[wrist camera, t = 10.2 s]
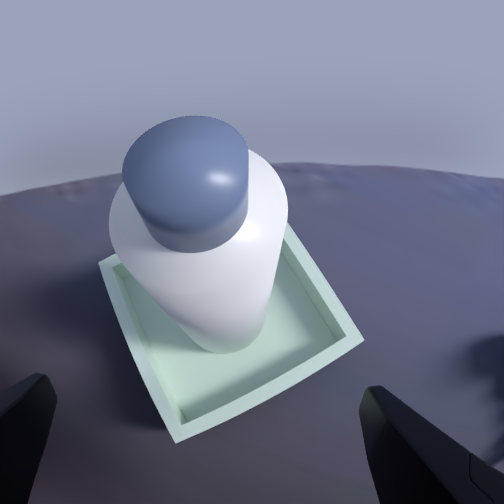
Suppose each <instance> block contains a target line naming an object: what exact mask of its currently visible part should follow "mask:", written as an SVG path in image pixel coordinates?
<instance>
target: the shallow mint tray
mask: <svg viewBox="0 0 504 504" xmlns="http://www.w3.org/2000/svg"><path fill="white" fill-rule="evenodd" d="M98 263H99V267H100V270H101V273H102V276H103V279H104V282H105V285H106V288H107V291H108V294H109V297H110V299H111V302H112V305H113V308H114V311H115V313H116V316H117V319H118V321H119V324H120V326H121V329H122V331H123V334H124V337H125V339H126V341H127V344H128V346H129V349H130V351H131V353H132V356H133V358H134V360H135V363H136V365H137V367H138V370H139V372H140V374H141V376H142V378H143V381H144V383H145V385H146V387H147V389H148V391H149V393H150V395H151V397H152V399H153V401H154V403H155V405H156V407H157V409H158V411H159V413H160V415H161V417H162V419H163V421H164V423H165V425H166V427H167V429H168V431H169V432H170V434H171V436H172V438H173V440H174V441H175V443H178V442H180V441H182V440H185V439H187V438H189V437H192V436H194V435H196V434H199V433H201V432H203V431H205V430H207V429H210V428H212V427H214V426H216V425H218V424H220V423H222V422H225V421H227V420H229V419H231V418H233V417H235V416H237V415H239V414H241V413H243V412H245V411H247V410H249V409H251V408H253V407H254V406H256V405H258V404H260V403H262V402H264V401H266V400H268V399H270V398H271V397H273V396H275V395H277V394H279V393H280V392H282V391H284V390H286V389H288V388H289V387H291V386H293V385H294V384H296V383H298V382H300V381H301V380H303V379H305V378H306V377H308V376H310V375H311V374H313V373H315V372H316V371H318V370H320V369H321V368H323V367H324V366H326V365H328V364H329V363H331V362H332V361H334V360H335V359H337V358H339V357H340V356H342V355H343V354H345V353H346V352H348V351H349V350H351V349H352V348H354V347H355V346H357V345H358V344H360V343H361V342H363V341H364V339H363V337H362V336H361V334H360V332H359V331H358V329H357V328H356V326H355V324H354V323H353V321H352V320H351V318H350V316H349V315H348V313H347V312H346V310H345V309H344V307H343V305H342V304H341V302H340V301H339V299H338V298H337V296H336V295H335V293H334V291H333V290H332V288H331V287H330V285H329V284H328V282H327V281H326V279H325V278H324V276H323V275H322V273H321V272H320V270H319V269H318V267H317V266H316V264H315V263H314V261H313V260H312V258H311V257H310V255H309V254H308V252H307V251H306V249H305V248H304V246H303V245H302V243H301V242H300V240H299V239H298V237H297V236H296V234H295V233H294V231H293V230H292V228H291V227H290V226H289V224H288V223H286V227H285V232H284V237H283V241H282V246H281V251H280V255H279V260H278V264H277V269H276V273H275V278H274V282H273V287H272V291H271V296H270V300H269V304H268V309H267V313H266V317H265V322H264V325H263V328H262V330H261V332H260V334H259V336H258V337H257V338H256V339H255V341H254V342H253V343H251V344H250V345H249V346H248V347H246V348H244V349H242V350H240V351H237V352H234V353H228V354H219V353H214V352H210V351H207V350H205V349H203V348H202V347H200V346H199V345H197V344H196V343H195V342H194V341H193V340H192V339H191V338H190V337H189V336H188V335H187V334H186V333H185V332H184V331H183V330H182V329H181V328H180V327H179V326H178V325H177V324H176V323H175V321H174V320H173V319H172V318H171V317H170V316H169V315H168V314H167V313H166V312H165V311H164V310H163V309H162V308H161V307H160V306H159V304H158V303H157V302H156V301H155V300H154V299H153V298H152V297H151V296H150V295H149V293H148V292H147V291H146V290H145V289H144V288H143V287H142V286H141V285H140V283H139V282H138V281H137V280H136V279H135V278H134V277H133V275H132V274H131V273H130V272H129V271H128V270H127V268H126V267H125V266H124V265H123V264H122V262H121V261H120V259H119V258H118V256H117V254H114V255H112V256H110V257H108V258H106V259H104V260H102V261H100V262H98Z"/></svg>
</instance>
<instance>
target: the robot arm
mask: <svg viewBox="0 0 504 504" xmlns="http://www.w3.org/2000/svg"><path fill="white" fill-rule="evenodd" d="M56 404H57V394H56V392H55V390H54V388H53V385H52V383H51V381H50V379H49V377H48V376H47V375H44V374H40V373H35V374H33V375H31V376H29V377H27V378H26V379H24V380H22V381H20V382H19V383H17V384H15V385H13V386H12V387H10V388H8V389H6V390H5V391H3V392H1V393H0V504H27V503H28V500H29V496H30V493H31V489H32V486H33V483H34V479H35V476H36V473H37V470H38V467H39V463H40V460H41V457H42V455H43V452H44V449H45V446H46V443H47V439H48V435H49V431H50V427H51V423H52V419H53V416H54V412H55V408H56ZM359 415H360V421H361V426H362V432H363V437H364V443H365V449H366V455H367V460H368V464H369V467H370V471H371V474H372V478H373V481H374V484H375V488H376V491H377V495H378V498H379V502H380V504H504V474H503V473H502V472H500V471H498V470H497V469H495V468H493V467H492V466H490V465H489V464H487V463H486V462H484V461H483V460H481V459H480V458H478V457H477V456H476V455H474V454H473V453H470V451H468V450H467V449H466V448H464V447H463V446H462V445H460V444H459V443H457V442H456V441H455V440H453V439H452V438H451V437H449V436H448V435H447V434H445V433H444V432H442V431H441V430H440V429H438V428H437V427H436V426H434V425H433V424H432V423H430V422H429V421H428V420H426V419H425V418H424V417H422V416H421V415H420V414H418V413H417V412H416V411H414V410H413V409H412V408H410V407H409V406H408V405H406V404H405V403H404V402H402V401H401V400H400V399H398V398H397V397H396V396H394V395H393V394H392V393H390V392H389V391H388V390H386V389H385V388H384V387H382V386H379V385H378V386H371V387H367V388H366V389H365V392H364V395H363V398H362V401H361V405H360V408H359Z"/></svg>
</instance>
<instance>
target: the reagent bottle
mask: <svg viewBox="0 0 504 504" xmlns="http://www.w3.org/2000/svg"><path fill="white" fill-rule="evenodd" d="M122 177H123V182H122V184H121V185H120V187H119V189H118V190H117V192H116V194H115V197H114V199H113V202H112V205H111V210H110V216H109V233H110V238H111V242H112V245H113V248H114V250H115V253H116V254H117V256H118V258H119V259H120V261H121V262H122V264H123V265H124V266H125V267H126V268H127V270H128V271H129V272H130V273H131V274H132V275H133V277H134V278H135V279H136V280H137V281H138V282H139V283H140V285H141V286H142V287H143V288H144V289H145V290H146V291H147V292H148V293H149V295H150V296H151V297H152V298H153V299H154V300H155V301H156V302H157V303H158V304H159V306H160V307H161V308H162V309H163V310H164V311H165V312H166V313H167V314H168V315H169V316H170V317H171V318H172V319H173V320H174V321H175V323H176V324H177V325H178V326H179V327H180V328H181V329H182V330H183V331H184V332H185V333H186V334H187V335H188V336H189V337H190V338H191V339H192V340H193V341H194V342H195V343H196V344H197V345H199V346H200V347H202V348H203V349H205V350H207V351H210V352H214V353H219V354H228V353H234V352H237V351H240V350H242V349H244V348H246V347H248V346H249V345H250V344H251V343H253V342H254V341H255V339H256V338H257V337H258V336H259V334H260V332H261V330H262V328H263V325H264V322H265V317H266V313H267V309H268V304H269V300H270V296H271V291H272V287H273V282H274V278H275V273H276V269H277V264H278V260H279V255H280V251H281V246H282V241H283V237H284V232H285V227H286V223H287V216H288V204H287V196H286V193H285V189H284V186H283V184H282V182H281V180H280V178H279V176H278V175H277V173H276V172H275V170H274V169H273V168H272V167H271V166H270V165H269V164H268V163H267V162H266V161H265V160H264V159H263V158H262V157H260V156H259V155H257V154H256V153H254V152H253V151H251V150H249V149H248V147H247V144H246V142H245V140H244V138H243V137H242V135H241V134H240V133H239V132H238V131H237V130H236V129H235V128H234V127H232V126H231V125H229V124H228V123H226V122H224V121H221V120H218V119H216V118H211V117H206V116H185V117H179V118H175V119H171V120H168V121H165V122H163V123H160V124H158V125H156V126H154V127H153V128H151V129H149V130H148V131H147V132H145V133H144V134H143V135H141V136H140V137H139V138H138V139H137V140H136V141H135V142H134V144H133V145H132V146H131V148H130V149H129V151H128V152H127V155H126V157H125V160H124V163H123V168H122Z"/></svg>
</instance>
